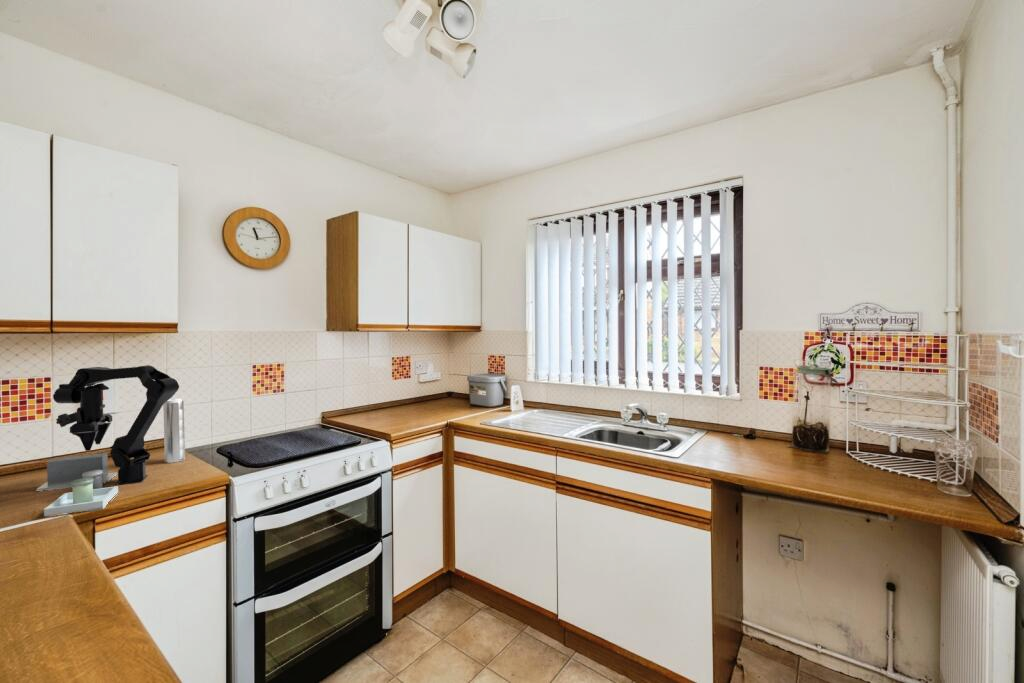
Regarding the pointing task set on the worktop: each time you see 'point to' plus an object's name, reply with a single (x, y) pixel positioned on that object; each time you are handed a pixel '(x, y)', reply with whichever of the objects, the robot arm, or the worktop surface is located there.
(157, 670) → the worktop surface
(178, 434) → the silver metal cylinder
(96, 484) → the grey cup
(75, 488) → the cylinder
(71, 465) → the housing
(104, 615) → the worktop surface
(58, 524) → the worktop surface
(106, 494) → the tray
